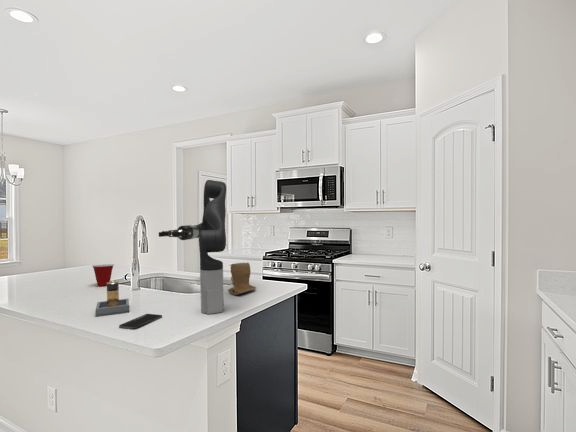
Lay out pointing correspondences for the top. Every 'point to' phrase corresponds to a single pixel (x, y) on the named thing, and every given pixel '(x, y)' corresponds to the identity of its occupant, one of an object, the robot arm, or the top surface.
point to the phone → (140, 321)
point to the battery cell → (112, 294)
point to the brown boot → (240, 278)
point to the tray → (112, 308)
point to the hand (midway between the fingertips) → (166, 234)
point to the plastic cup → (103, 274)
